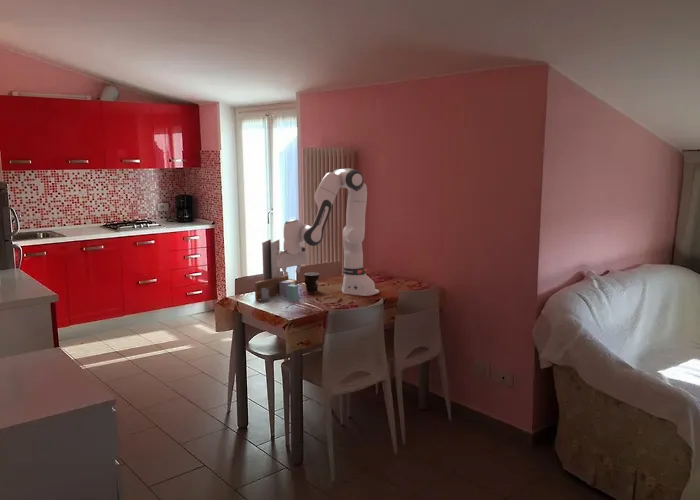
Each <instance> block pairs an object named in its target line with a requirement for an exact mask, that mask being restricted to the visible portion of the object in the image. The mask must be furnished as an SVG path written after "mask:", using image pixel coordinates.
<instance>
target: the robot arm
mask: <svg viewBox="0 0 700 500" xmlns="http://www.w3.org/2000/svg"><path fill="white" fill-rule="evenodd" d="M341 188H343V189H347V191H348V192H347V194H348V195H347V201H346V203H347V204H346V211H345V212H346V213H345V216H346V217H345V226H344V227H343V229H342V244H343V270H342V272H343V273H342V274H343V280H342V287H341V292H342V294H346V295H352V296H353V295H354V296H362V297H363V296H364V297H367V296H368V297H369V296H373V295H376V294H379V293H380V290H379V289H376V286H375V285H376V283H375V282H374V280H373V279H372V278H370V277H369V275H367V273H366V272H367V268H364V267H365V266H364V253H363V252H364V251H363V241H364V240H365V232H366V211H367V202H368V201H367V199H368V186H367V185H366V183H365V181H364V176H363V174H362V172H361V171H360V170H357V169H353V168H349V167H348V168H347V167H346V168H342V167H341V168H337V169H335V170H334V171H333V172H327V173H326V174H324V177H323V178H322V179H321V180H320V183H319V185H318V187H317V188H316V190H315V193H314V197H313V198H314V202H315V204H316V206H317V214H316V216H315V218H314V221H313V223H312V225H308V224H306V223H304V222H302V221H300V220H299V219H297V218H296V219H295V218H294V219H293V218H291V219H289V220H287V221H285V222H284V226H283V239H284V240H283V250H280V252H279V254H278V258H277V267H278V268H280V269H281V271H282V272H283V276H287V275H288V276H289V272H288V271H287V269H288V268H291V267H296V269H295V274H300V271H301V268H302V265H305V264H306V263H307V252H306V251H307V247H305V246H301V242H302V243H305V244H307V245H308V246H312V247H315V246H318V245H320V243H321V242H323V238H324V230H325V227H326V224H327V221H328V219H329V216H330V213H331V210H332V207H333V203H334V201H335V199H336V197H337V194H338V192H339V190H340V189H341Z"/></svg>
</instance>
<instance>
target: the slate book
mask: <svg viewBox="0 0 700 500" xmlns="http://www.w3.org/2000/svg"><path fill="white" fill-rule="evenodd" d="M279 284H280V295H279V296H280V297H285V298H287V285H290V282H287V281H282V282H279Z"/></svg>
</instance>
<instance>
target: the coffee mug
mask: <svg viewBox="0 0 700 500" xmlns="http://www.w3.org/2000/svg"><path fill="white" fill-rule="evenodd" d="M319 276H320V273H319V272H305V273H304V284H305V289H306V292H309V293H314V292H315V293H316V292H318V288H319V278H320V277H319Z"/></svg>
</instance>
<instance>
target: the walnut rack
mask: <svg viewBox="0 0 700 500" xmlns="http://www.w3.org/2000/svg"><path fill="white" fill-rule="evenodd" d="M286 280H293V281H295V285H298V280H297V279H292V278H289V274H288V275H287V276H284V275H280V277H276V278H271V279H267V280H259V281H255V282H254V295H255V296H254V301H258V300H262V289H261V288H266V289H269V298H272V297H276V296H280V284H279V282H282V281H286Z"/></svg>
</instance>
